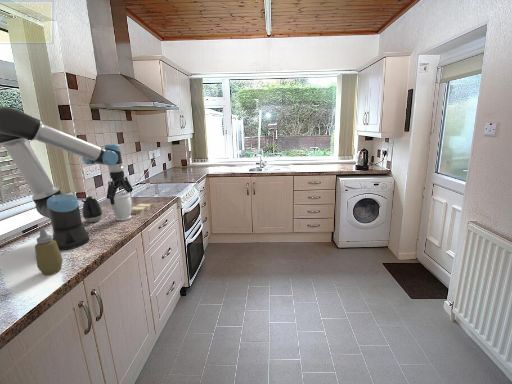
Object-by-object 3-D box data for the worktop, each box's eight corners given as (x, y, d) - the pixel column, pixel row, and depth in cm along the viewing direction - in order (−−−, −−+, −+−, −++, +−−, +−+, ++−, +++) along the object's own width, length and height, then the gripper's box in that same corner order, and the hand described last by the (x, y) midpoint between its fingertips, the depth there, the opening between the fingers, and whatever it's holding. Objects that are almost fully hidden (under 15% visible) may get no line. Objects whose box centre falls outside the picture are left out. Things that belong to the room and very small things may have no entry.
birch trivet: (140, 213, 174) (140, 210, 174) (128, 213, 176) (127, 209, 176) (152, 207, 188) (152, 203, 187) (141, 206, 189) (140, 203, 189)
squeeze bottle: (34, 274, 105) (23, 231, 100) (55, 264, 112) (46, 223, 108) (48, 278, 102) (37, 233, 97) (69, 267, 109) (60, 225, 105)
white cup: (112, 222, 160) (108, 197, 157) (116, 217, 170) (112, 193, 166) (131, 220, 163) (128, 196, 159) (134, 215, 173) (131, 192, 169)
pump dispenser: (79, 223, 161) (74, 198, 157) (95, 217, 170) (90, 193, 167) (92, 224, 157) (87, 199, 154) (107, 218, 167) (103, 194, 163)
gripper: (106, 175, 147) (113, 212, 152) (135, 167, 170) (140, 199, 176) (94, 175, 148) (102, 212, 154) (124, 167, 172) (130, 199, 177)
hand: (122, 205), depth 165 cm, fingers open, 13 cm apart
